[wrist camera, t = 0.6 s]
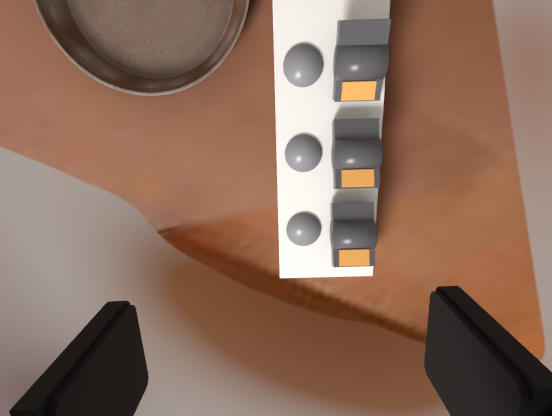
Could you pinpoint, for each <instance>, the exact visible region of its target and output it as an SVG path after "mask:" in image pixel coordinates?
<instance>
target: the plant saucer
mask: <svg viewBox="0 0 552 416" xmlns="http://www.w3.org/2000/svg"><path fill="white" fill-rule="evenodd" d="M33 1H34V4H35V6H36V9H37V11H38V14H39V16H40V18H41V20H42V22H43V24H44V26H45V28H46V29H47V31H48V32H49V34H50V36H51V37H52V39H53V40H54V42H55V43H56V44H57V45H58V47H59V48H60V49H61V50H62V52H63V53H64V54H65V55H66V56H67V57H68V58H69V59H70V60H71V61H72V62H73V63H74V64H75V65H76V66H77V67H79V68H80V69H81V70H82V71H84V72H85V73H86V74H88V75H89V76H90V77H92V78H94V79H95V80H97V81H99V82H101V83H103V84H104V85H106V86H109V87H111V88H113V89H116V90H119V91H123V92H126V93H131V94H137V95H149V96H155V95H165V94H171V93H175V92H178V91H181V90H184V89H187V88H189V87H191V86H193V85H195V84H197V83H199V82H200V81H202V80H203V79H205V78H206V77H207V76H209V75H210V74H211V73H212V72H213V71H214V70H216V69H217V68H218V66H219V65H220V64H221V63H222V62H223V61H224V60H225V58H226V57H227V56H228V54H229V53H230V51H231V50H232V48H233V46H234V45H235V43H236V41H237V39H238V37H239V35H240V32H241V30H242V27H243V24H244V21H245V18H246V14H247V10H248V5H249V0H33Z"/></svg>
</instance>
